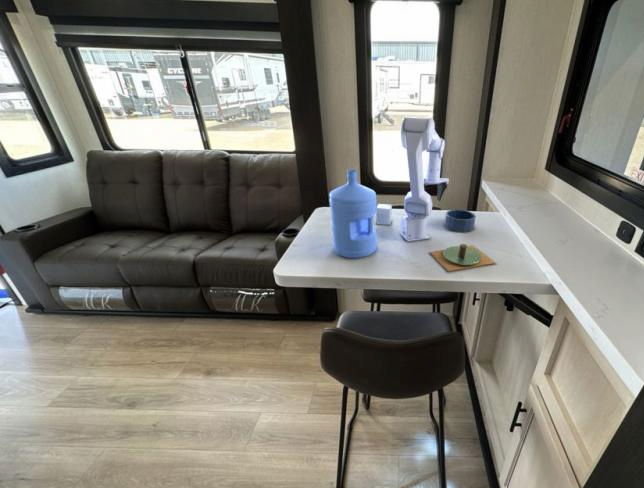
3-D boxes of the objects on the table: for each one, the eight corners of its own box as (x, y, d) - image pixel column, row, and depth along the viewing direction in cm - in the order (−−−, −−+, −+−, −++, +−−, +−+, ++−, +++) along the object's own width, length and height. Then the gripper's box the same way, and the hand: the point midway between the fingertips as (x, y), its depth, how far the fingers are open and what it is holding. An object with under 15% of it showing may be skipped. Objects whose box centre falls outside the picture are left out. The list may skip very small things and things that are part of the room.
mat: (448, 271, 99) (448, 270, 99) (430, 253, 111) (430, 252, 111) (494, 263, 105) (494, 262, 105) (472, 246, 116) (472, 245, 116)
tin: (453, 233, 126) (455, 221, 124) (440, 222, 136) (441, 211, 133) (479, 230, 130) (481, 218, 127) (464, 220, 140) (465, 208, 137)
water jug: (325, 253, 108) (316, 173, 94) (347, 237, 120) (343, 163, 106) (364, 262, 103) (362, 179, 89) (383, 244, 116) (384, 168, 102)
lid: (454, 269, 100) (456, 257, 98) (436, 251, 111) (437, 240, 109) (488, 263, 104) (491, 251, 102) (468, 246, 115) (469, 235, 113)
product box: (378, 219, 138) (378, 203, 134) (391, 220, 137) (392, 204, 134) (376, 224, 133) (375, 208, 129) (389, 225, 132) (390, 209, 128)
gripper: (444, 165, 131) (441, 196, 138) (413, 167, 127) (412, 199, 134) (452, 169, 126) (448, 201, 133) (420, 171, 121) (418, 204, 128)
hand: (430, 200), depth 133 cm, fingers open, 7 cm apart
